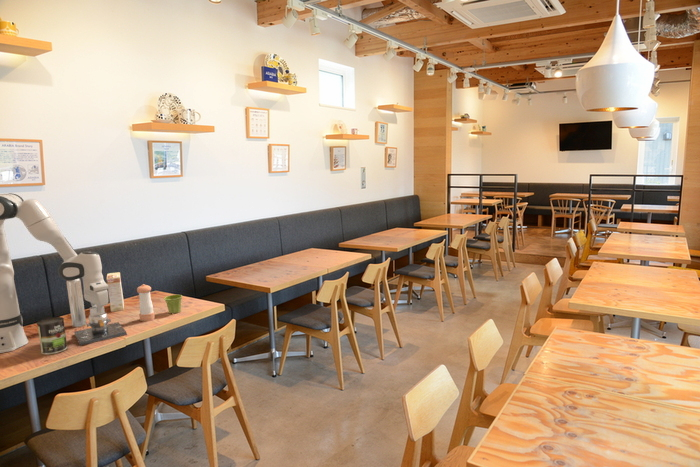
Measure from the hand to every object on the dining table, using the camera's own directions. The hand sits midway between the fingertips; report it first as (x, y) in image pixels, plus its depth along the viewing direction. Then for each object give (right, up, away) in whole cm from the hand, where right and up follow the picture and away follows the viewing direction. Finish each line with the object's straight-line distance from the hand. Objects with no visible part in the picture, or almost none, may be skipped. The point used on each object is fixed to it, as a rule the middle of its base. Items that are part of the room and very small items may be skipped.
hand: (97, 311), depth 233 cm
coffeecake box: (-13, -5, +46) cm, 48 cm away
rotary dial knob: (+2, -6, -1) cm, 7 cm away
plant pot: (+26, -6, +32) cm, 42 cm away
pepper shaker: (+15, -8, +22) cm, 28 cm away
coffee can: (-11, -15, -16) cm, 25 cm away
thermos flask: (-19, -10, +17) cm, 27 cm away
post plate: (0, -11, +2) cm, 12 cm away
